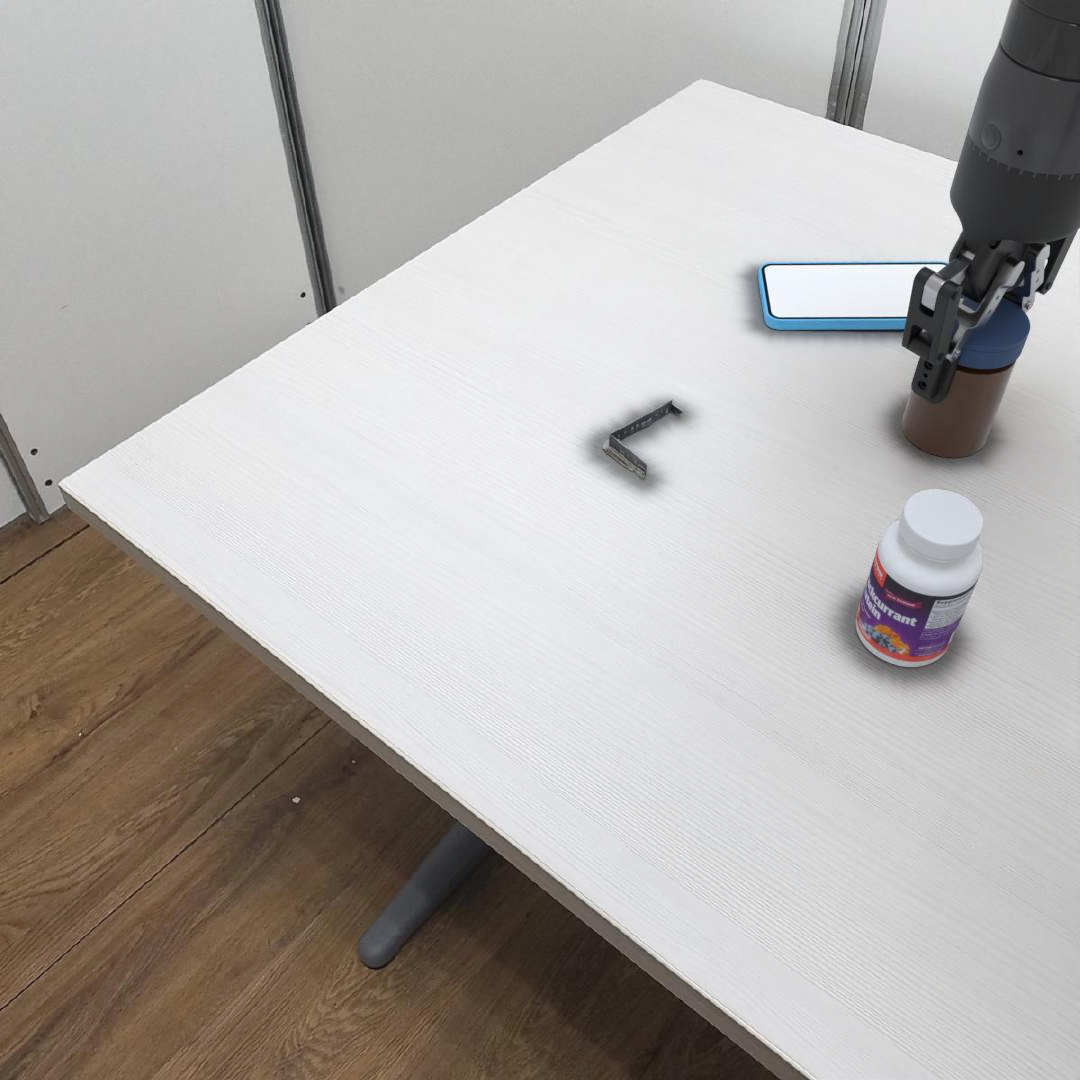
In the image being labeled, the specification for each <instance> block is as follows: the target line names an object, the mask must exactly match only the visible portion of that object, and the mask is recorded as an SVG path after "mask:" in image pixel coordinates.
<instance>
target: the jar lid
mask: <svg viewBox="0 0 1080 1080" xmlns="http://www.w3.org/2000/svg"><path fill="white" fill-rule="evenodd" d="M961 297H963V299H964V301H963V303H962V304H963V305H965V306H966V307H968V308H970V309H972V310H974V311H976V310H977V309H978V307H979V306H980V304H981V303H976V302H974V301H972V300H970V299H968V298H967V297H965V296H963V295H961ZM958 328H959V322H958V321H957V320H955V323H954V328H953V332H952V336H951V338H952V339H953V337H954V335H955V333H956V332H957V330H958ZM1030 331H1031V320H1030V319H1029V316H1028V315H1027V312H1026V313H1025V312H1024V311H1023V310H1022V309H1021V308H1020V307H1019V306H1018V305H1016V304H1015V303H1013V302H1012V301H1010V300H1008V299H1006V298H1004V297H1002V298H1001V300H1000V302H999V304H998V305H997V307H996V309H995V311H994V312H993V314H992V316H991V318H990V319H989V321H988V323H987V325H986V326H985V327H983V328H977V329H975V330H974V331H973V333H972V335H971V337H970V338H969V340H968V342H967V344H966V345H965V347H964V349H963V351H962V353H961V355H960V358H959V361H958V364H959V365H962V366H965V367H970V368H976V369H995V368H1000V367H1004V366H1007V365H1009V364H1011V363H1013V362H1014V361H1015V360H1016V361H1017V360H1018V359H1019V357H1020V356H1021V355H1022V353H1023V349H1024V347H1025V346H1026V345H1025V344H1026V342H1027V339H1028V337H1029V334H1030Z"/></svg>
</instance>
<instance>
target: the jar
mask: <svg viewBox="0 0 1080 1080" xmlns="http://www.w3.org/2000/svg"><path fill="white" fill-rule="evenodd" d="M1016 363H1017V360H1015V361H1014V362H1013V363H1011V364H1009V365H1007V366H1004V367H1000V368H995V369H976V368H970V367H965V366H962V365H959V364H957V367H956V370H955V373H954V376H953V379H952V382H951V385H950V388H949V390H948V393H947V396H946V398H945V399H944V400H942V401H941V402H940V403H938V404H932V403H930V402H929V401H927V400H925V399H924V398H922V397H920V396H919V395H917V394H916V393H914V392H913V390H912V388H911V387H910V392H909V395H908V399H907V403H906V406H905V410H904V412H903V415H902V418H901V429H902V431H903V434H904V435H905V437H906V438H907V439H908V440H909V442H910V443H911V444H912V445H914V446H915V447H917V448H918V449H920V450H921V451H923V452H926V453H928V454H930V455H933V456H937V457H942V458H948V459H949V458H951V459H957V458H958V459H959V458H965V457H969V456H972V455H974V454H976V453H978V452H979V451H980V450H981V449H982V448H983V447H984V446H985V444H986V442H987V440H988V437H989V435H990V432H991V430H992V427H993V424H994V422H995V419H996V417H997V413H998V410H999V408H1000V406H1001V403H1002V401H1003V397H1004V395H1005V392H1006V390H1007V387H1008V384H1009V382H1010V379H1011V377H1012V373H1013V371H1014V368H1015V366H1016Z"/></svg>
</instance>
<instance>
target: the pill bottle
mask: <svg viewBox="0 0 1080 1080" xmlns="http://www.w3.org/2000/svg"><path fill="white" fill-rule="evenodd" d="M983 528H984V519H983V516H982V513H981V511H980V509H979V508H978V507H977V505H975V504H974V503H973V502H972V501H971V500H970V499H968V497H965V496H964V495H962V494H959V493H957V492H955V491H951V490H947V489H941V488H929V489H923V490H920V491H918V492H916V493H913V494H912V495H911V496H910V497H909V498H908V499H907V500H906V502H905V504H904V506H903V509H902V513H901V515H900V517H899V518H898V519H896V520H894V521H893V522H891V523H890V524H889V525H888V526H887V527H886V528H885V530H884V531H883V533H882V534H881V536H880V539H879V541H878V543H877V547H876V551H875V554H874V557H873V561H872V564H871V567H870V570H869V572H868V576H867V580H866V583H865V585H864V588H863V590H862V591H863V592H862V594H861V598H860V599H859V600H860V601H859V602H858V603H859V604H858V607H857V611H856V615H855V629H856V633H857V635H858V637H859V639H860V642H861V643H862V644H863V645H864V647H865V648H866V649H867V650H868V651H869V652H871V653H872V654H873V655H874V656H876V657H877V658H879V659H880V660H882V661H885V662H887V663H889V664H892V665H895V666H898V667H904V668H905V667H906V668H918V667H923V666H924V667H925V666H927V665H931V664H933V663H934V662H937V661H938V660H939V659H940V658H942V657H943V656H944V655H945V653H946V652H947V650H948V649H949V647H950V646H951V643H952V641H953V639H954V637H955V634H956V632H957V629H958V627H959V625H960V624H961V621H962V618H963V616H964V614H965V611H966V609H967V606H968V604H969V601H970V599H971V597H972V595H973V592H974V590H975V588H976V585H977V583H978V581H979V579H980V576H981V573H982V569H983V564H984V557H983V552H982V549H981V546H980V543H979V540H980V538H981V534H982V532H983Z"/></svg>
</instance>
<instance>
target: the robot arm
mask: <svg viewBox="0 0 1080 1080" xmlns="http://www.w3.org/2000/svg"><path fill="white" fill-rule="evenodd" d="M1009 3H1010V4H1009V7H1008V10H1007V13H1006V16H1005V19H1004V23H1003V27H1002V30H1001V33H1000V37H999V41H998V43H997V46H996V49H995V50H994V54H993V56H992V58H991V61H990V62H989V64H988V67H987V69H986V71H985V74H984V76H983V79H982V82H981V85H980V87H979V90H978V96H977V98H976V101H975V103H974V108H973V112H972V115H971V118H970V121H969V125H968V129H967V132H966V136H965V138H964V142H963V145H962V148H961V151H960V155H959V158H958V162H957V166H956V169H955V172H954V175H953V179H952V183H951V185H950V190H949V199H950V200H949V201H950V203H951V206H952V208H953V210H954V212H955V213H956V215H957V218H958V220H959V221H960V224H961V227H962V228H961V229H962V231H961V232H960V234H959V236H958V238H957V240H956V242H955V243H954V245H953V247H952V249H951V250H950V252H949V256H948V263H949V264H948V265H946V266H945V267H944V268H942V269H941V270H940V271H938V272H937V273H936V272H935V271H933V270H931V269H929V268H927V267H923V268H921V269H920V270H919V272H918V273H917V274H916V276H915V278H914V281H913V286H912V292H911V297H910V302H909V308H908V313H907V318H906V324H905V329H903V335H902V340H901V346H902V348H904V349H906V350H907V351H909V352H911V353H912V354H914V355H916V356H918V360H917V363H916V367H915V371H914V373H913V377H912V380H911V383H910V389H911V388H912V390H913V392H914V393H916V394H917V395H919V396H920V397H922V398H924V399H925V400H927V401H929V402H930V403H932V404H938V403H940V402H941V401H942V400H944V399H945V398H946V396H947V393H948V390H949V388H950V385H951V382H952V379H953V376H954V373H955V370H956V367H957V364H958V361H959V358H960V355H961V353H962V351H963V349H964V347H965V345H966V344H967V342H968V340H969V338H970V337H971V335H972V333H973V331H974V330H975V329H977V328H983V327H985V326H986V325H987V323H988V321H989V319H990V318H991V316H992V314H993V312H994V311H995V309H996V307H997V305H998V304H999V302H1000V300H1001V298H1002V297H1004V298H1006V299H1008V300H1010V301H1012V302H1013V303H1015V304H1016V305H1018V306H1019V307H1020V308H1021V309H1022V310H1023V311H1024V312H1025V313H1026V314H1027V312H1029V311H1030V310H1031V309H1032V308H1033V306H1034V302H1035V300H1036V293H1038V294H1040V295H1041V296H1045V295H1046V294H1047V293H1048V292H1050V290H1051V289H1052V287H1053V285H1054V283H1055V280H1056V278H1057V276H1058V274H1059V272H1060V270H1061V267H1062V266H1063V264H1064V261H1065V259H1066V257H1067V254H1068V253H1069V250H1070V248H1071V246H1072V244H1073V242H1074V239H1075V238H1076V236H1077V233H1078V231H1079V229H1080V0H1010V2H1009ZM1046 260H1047V262H1046ZM961 295H963V296H965V297H967V298H968V299H970V300H972V301H974V302H976V303H981V304H980V306H979V307H978V309H977V310H976V311H974V310H972V309H970V308H968V307H966V306H965V305H963V304H962V303H963V301H964V299H963V297H961ZM955 320H957V321H958V322H959V328H958V330H957V332H956V333H955V335H954V337H953V339H952V338H951V336H952V332H953V328H954V323H955Z"/></svg>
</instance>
